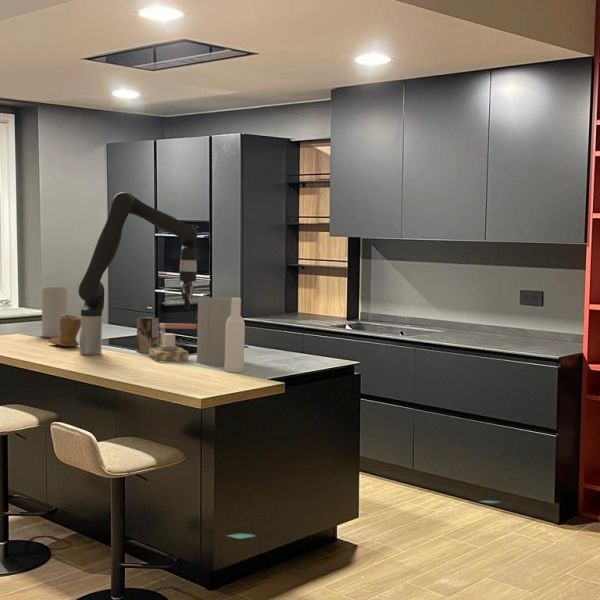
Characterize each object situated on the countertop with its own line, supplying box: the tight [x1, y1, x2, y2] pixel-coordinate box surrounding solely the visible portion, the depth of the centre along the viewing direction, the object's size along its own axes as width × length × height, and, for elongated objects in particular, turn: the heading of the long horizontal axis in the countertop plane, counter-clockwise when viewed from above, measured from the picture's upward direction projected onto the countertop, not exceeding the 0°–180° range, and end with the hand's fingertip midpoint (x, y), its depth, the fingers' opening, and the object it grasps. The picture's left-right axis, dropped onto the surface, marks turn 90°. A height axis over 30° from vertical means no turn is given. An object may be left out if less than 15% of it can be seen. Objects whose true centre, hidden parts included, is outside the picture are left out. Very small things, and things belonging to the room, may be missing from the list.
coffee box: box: [136, 316, 161, 354], centre depth 395 cm, size 9×6×16 cm
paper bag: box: [196, 296, 242, 367], centre depth 368 cm, size 19×15×28 cm
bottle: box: [224, 297, 246, 374], centre depth 349 cm, size 8×8×30 cm
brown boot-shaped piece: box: [47, 314, 81, 348], centre depth 406 cm, size 15×12×15 cm
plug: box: [160, 333, 179, 351], centre depth 376 cm, size 7×7×11 cm
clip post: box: [160, 328, 166, 345], centre depth 386 cm, size 5×5×12 cm
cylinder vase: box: [41, 286, 68, 339], centre depth 439 cm, size 12×12×25 cm
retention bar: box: [160, 322, 198, 330], centre depth 386 cm, size 3×16×2 cm, turn 93°
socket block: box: [148, 346, 189, 363], centre depth 376 cm, size 14×14×4 cm
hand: (187, 308), depth 383 cm, fingers closed
